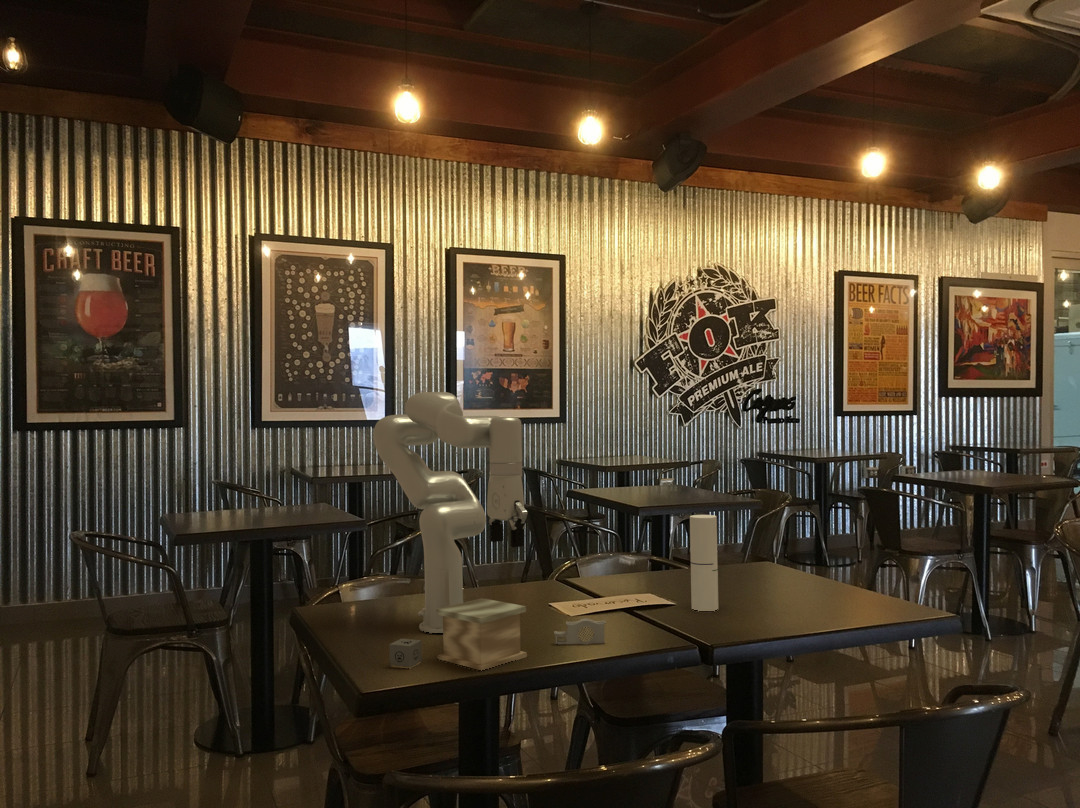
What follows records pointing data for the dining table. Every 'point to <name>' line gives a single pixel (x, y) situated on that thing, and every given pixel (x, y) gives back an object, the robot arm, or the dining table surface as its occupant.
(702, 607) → the cylindrical container
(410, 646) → the gray face cube
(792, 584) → the dining table surface
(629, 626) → the dining table surface
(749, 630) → the dining table surface
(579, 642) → the garden wall model
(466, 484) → the robot arm
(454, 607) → the display pedestal
